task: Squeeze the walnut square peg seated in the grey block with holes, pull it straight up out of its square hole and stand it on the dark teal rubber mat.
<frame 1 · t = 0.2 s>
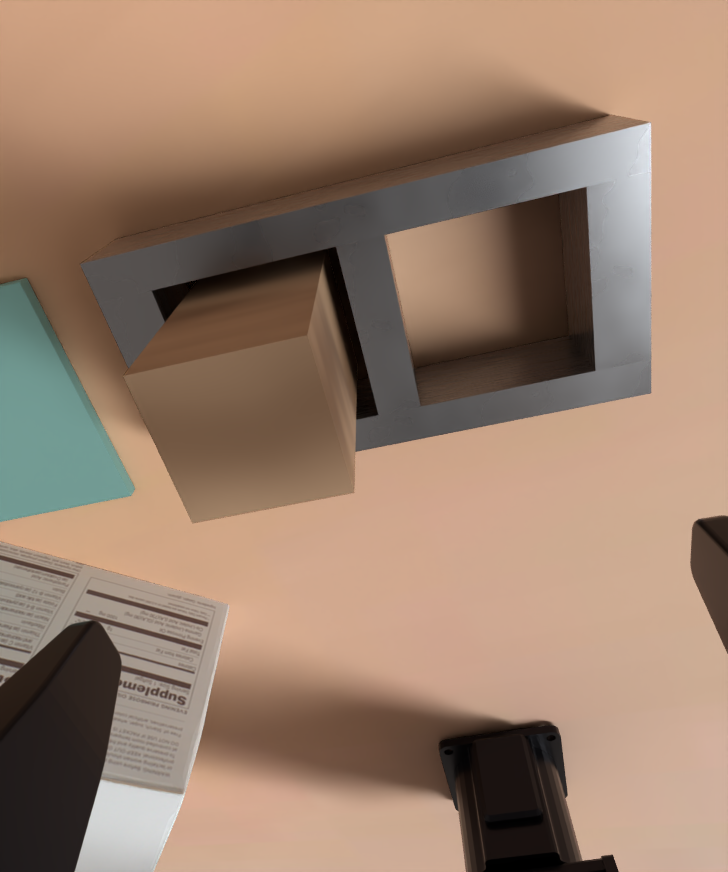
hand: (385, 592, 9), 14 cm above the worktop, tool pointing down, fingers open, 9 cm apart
mat: (1, 411, 24), on the worktop
peg: (282, 321, 22), resting in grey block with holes
supplement box: (71, 674, 32), on the worktop
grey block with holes: (379, 300, 22), on the worktop
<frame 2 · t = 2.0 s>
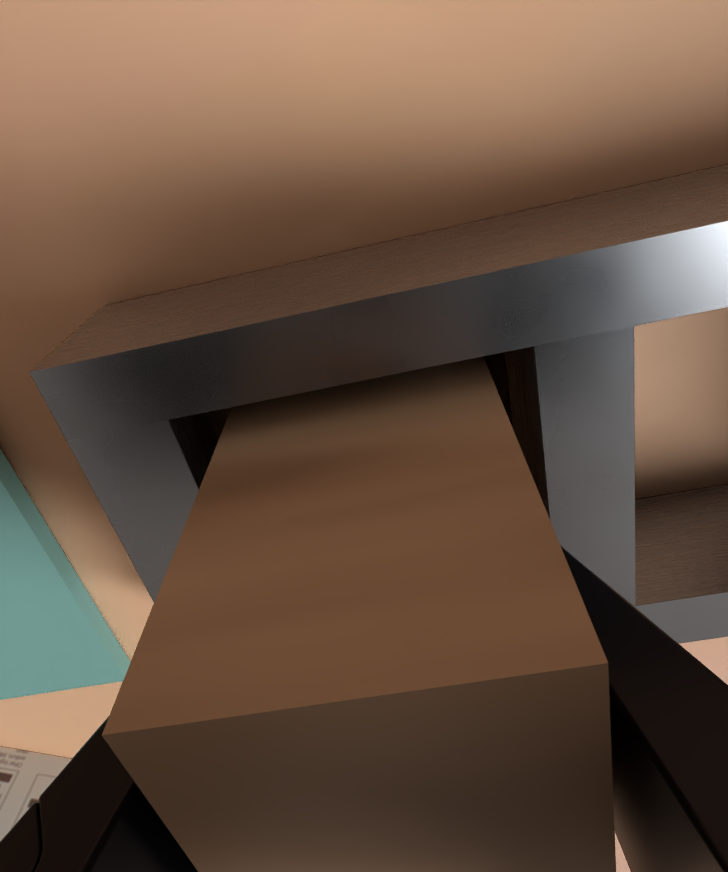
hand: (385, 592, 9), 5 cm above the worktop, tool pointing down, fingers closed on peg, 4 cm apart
peg: (379, 437, 13), resting in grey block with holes, touching gripper
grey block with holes: (545, 407, 13), on the worktop
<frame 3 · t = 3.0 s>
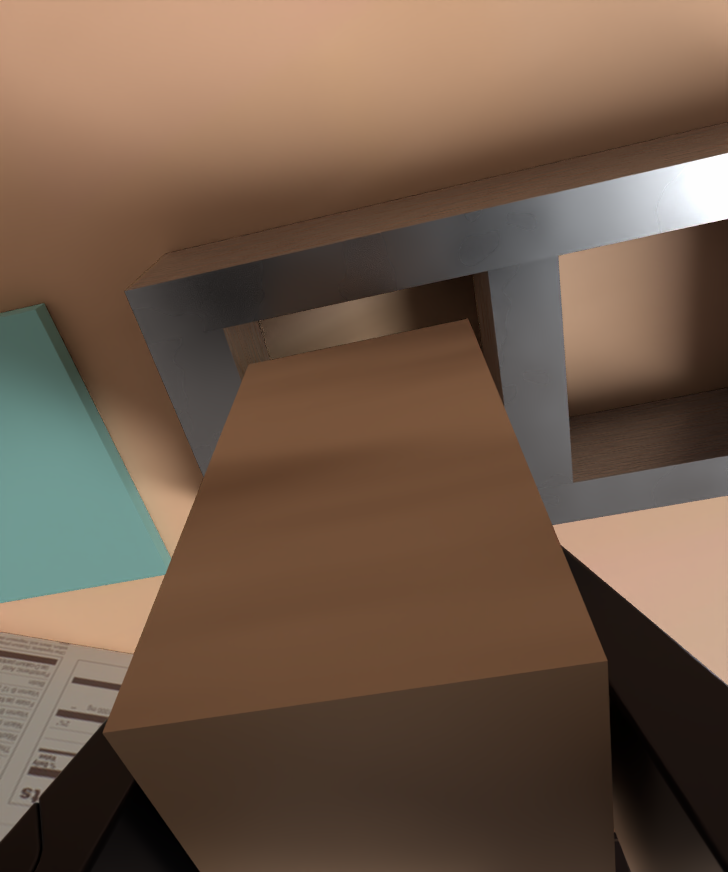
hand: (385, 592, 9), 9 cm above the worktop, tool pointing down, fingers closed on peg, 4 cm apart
mat: (7, 470, 19), on the worktop
peg: (379, 436, 13), point 4 cm above the worktop, touching gripper
supplement box: (81, 767, 27), on the worktop
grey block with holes: (507, 336, 16), on the worktop
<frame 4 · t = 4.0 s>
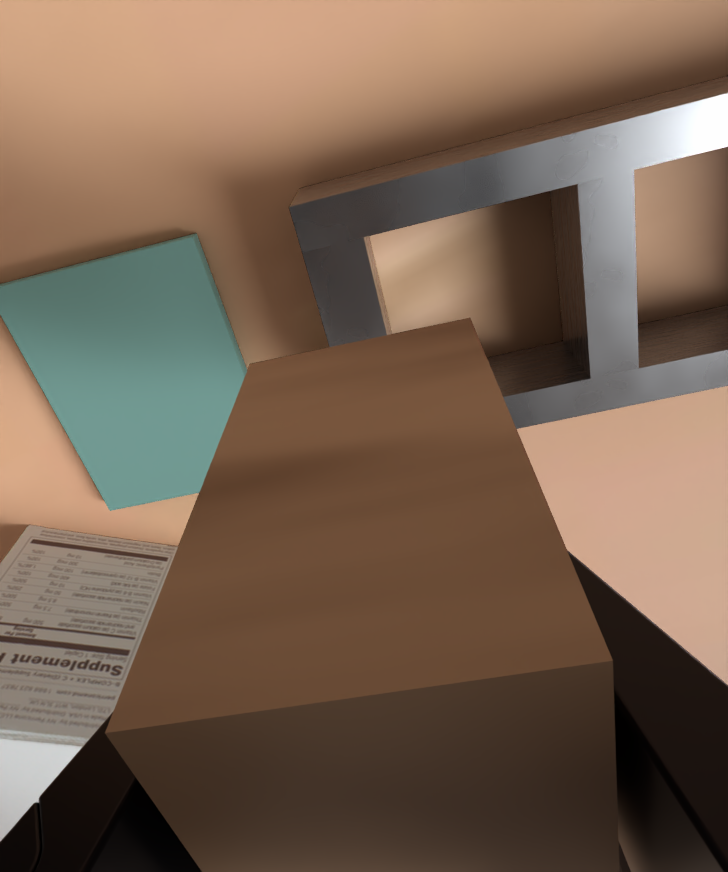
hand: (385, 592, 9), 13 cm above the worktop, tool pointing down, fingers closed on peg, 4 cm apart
mat: (150, 384, 22), on the worktop
peg: (380, 436, 13), point 9 cm above the worktop, touching gripper
supplement box: (182, 672, 30), on the worktop
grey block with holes: (578, 255, 20), on the worktop
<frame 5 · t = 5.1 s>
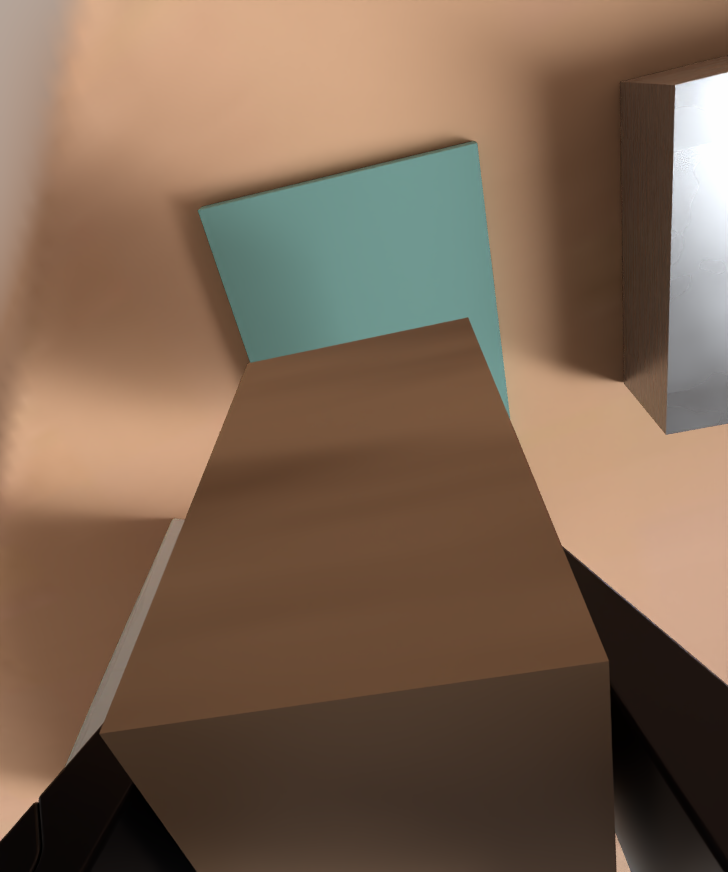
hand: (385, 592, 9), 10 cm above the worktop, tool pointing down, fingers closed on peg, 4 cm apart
mat: (372, 339, 18), on the worktop
peg: (378, 435, 13), point 5 cm above the worktop, touching gripper
supplement box: (330, 686, 26), on the worktop
when the fingers open (6 cm above the worktop, at t = 6.0 s): peg drops 1 cm, resting on mat.
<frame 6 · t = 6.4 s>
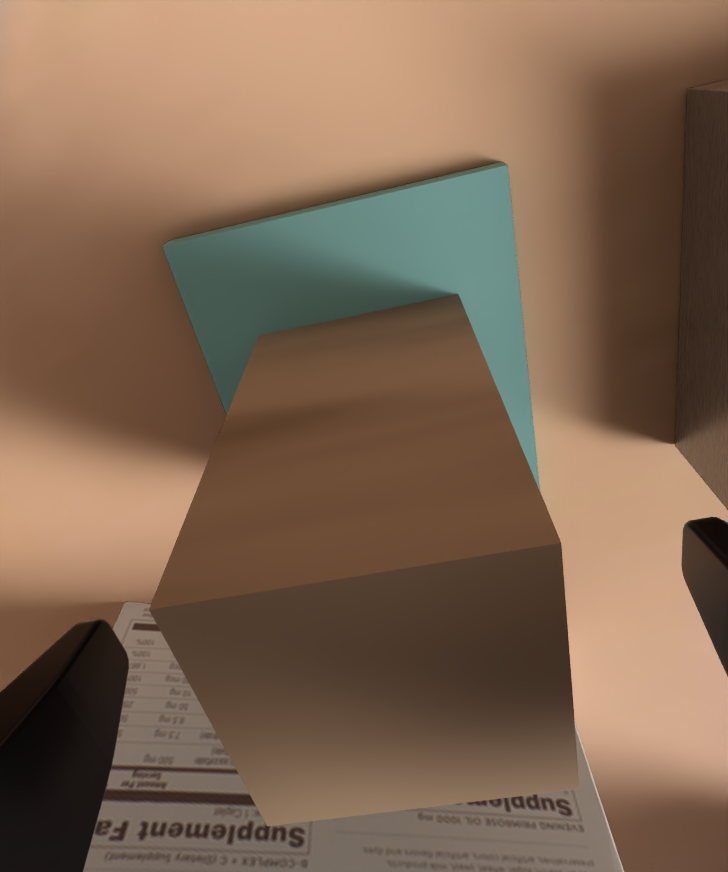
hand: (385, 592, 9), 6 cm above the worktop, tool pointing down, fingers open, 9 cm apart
mat: (376, 395, 15), on the worktop
peg: (377, 404, 14), resting on mat
supplement box: (326, 766, 23), on the worktop
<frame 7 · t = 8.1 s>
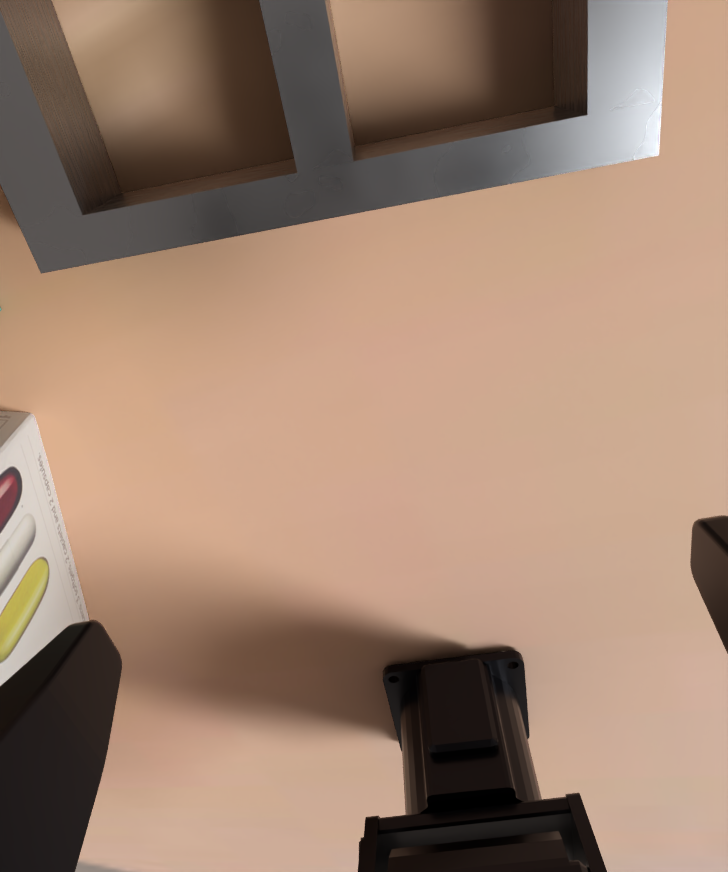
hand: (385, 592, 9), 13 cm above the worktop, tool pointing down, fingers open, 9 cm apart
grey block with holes: (308, 36, 16), on the worktop
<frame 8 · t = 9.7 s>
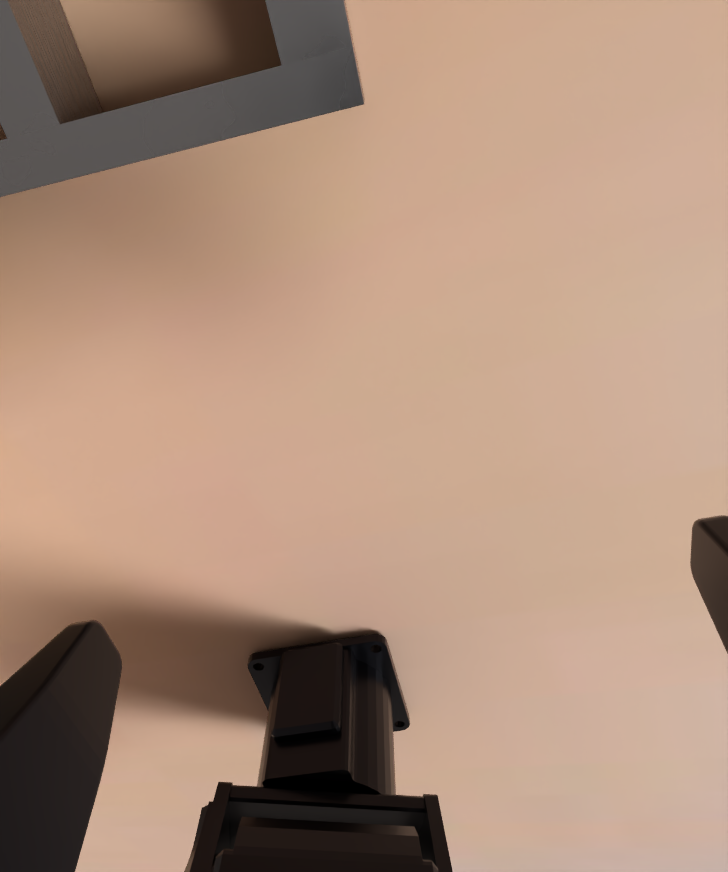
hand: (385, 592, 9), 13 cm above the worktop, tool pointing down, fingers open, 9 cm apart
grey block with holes: (34, 6, 16), on the worktop
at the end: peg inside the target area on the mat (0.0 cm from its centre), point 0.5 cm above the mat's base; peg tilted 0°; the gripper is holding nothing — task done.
